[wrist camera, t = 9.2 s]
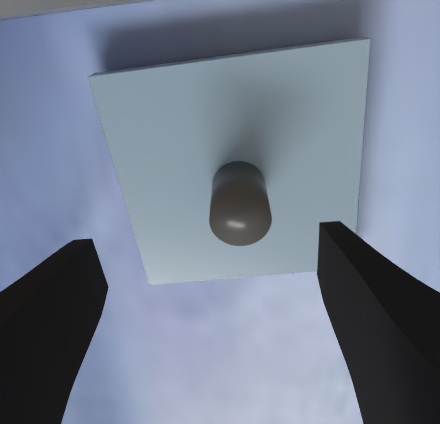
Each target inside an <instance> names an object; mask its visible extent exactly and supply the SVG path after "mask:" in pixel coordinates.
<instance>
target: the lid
mask: <svg viewBox="0 0 440 424" xmlns="http://www.w3.org/2000/svg"><path fill="white" fill-rule="evenodd" d="M369 51H370V39H369V38H366V37H358V38H350V39H343V40H336V41H328V42H321V43H313V44H306V45H299V46H291V47H284V48H276V49H269V50H262V51H254V52H247V53H240V54H232V55H225V56H217V57H210V58H203V59H195V60H188V61H180V62H173V63H166V64H158V65H151V66H143V67H136V68H129V69H121V70H114V71H107V72H99V73H94V74H92V75H90V76H88V77H87V78H88V81H89V84H90V88H91V91H92V94H93V98H94V101H95V104H96V108H97V111H98V114H99V118H100V121H101V124H102V128H103V131H104V135H105V138H106V141H107V145H108V148H109V151H110V155H111V158H112V161H113V165H114V168H115V171H116V175H117V178H118V181H119V185H120V188H121V192H122V195H123V198H124V202H125V205H126V208H127V212H128V215H129V218H130V222H131V225H132V228H133V232H134V235H135V238H136V242H137V245H138V249H139V252H140V255H141V259H142V262H143V265H144V269H145V272H146V275H147V279H148V282H149V285H157V284H169V283H181V282H193V281H205V280H217V279H229V278H241V277H252V276H264V275H276V274H288V273H300V272H312V271H317V266H318V244H319V222H331V221H341V222H342V223H343V224H344V225H346V226H347V227H348V228H349V229H350V230H352V231H353V232H354V233H355V234H356V224H357V210H358V197H359V184H360V171H361V157H362V144H363V131H364V118H365V104H366V91H367V78H368V65H369Z"/></svg>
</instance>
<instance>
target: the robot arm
mask: <svg viewBox="0 0 440 424" xmlns="http://www.w3.org/2000/svg"><path fill="white" fill-rule="evenodd" d="M317 276H318V280H319V285H320V289H321V294H322V298H323V302H324V305H325V308H326V310H327V313H328V316H329V318H330V321H331V324H332V327H333V329H334V332H335V335H336V337H337V340H338V343H339V345H340V348H341V351H342V353H343V356H344V359H345V361H346V364H347V367H348V369H349V373H350V376H351V379H352V382H353V385H354V389H355V393H356V397H357V400H358V404H359V408H360V412H361V415H362V419H363V423H364V424H440V293H439V292H438V291H436V290H434V289H432V288H431V287H429V286H427V285H426V284H424V283H422V282H421V281H419V280H417V279H416V278H414V277H413V276H411V275H410V274H408V273H407V272H405V271H404V270H403V269H401V268H400V267H398V266H397V265H395V264H394V263H392V262H391V261H390V260H388V259H387V258H386V257H384V256H383V255H382V254H380V253H379V252H378V251H376V250H375V249H374V248H372V247H371V246H370V245H369V244H367V243H366V242H365V241H364V240H363V239H361V238H360V237H359V236H358V235H356V234H355V233H354V232H353V231H352V230H350V229H349V228H348V227H347V226H346V225H344V224H343V223H342V222H341V221H331V222H319V244H318V266H317ZM107 291H108V284H107V281H106V278H105V276H104V273H103V270H102V267H101V264H100V261H99V258H98V255H97V252H96V249H95V246H94V243H93V240H92V239H80V240H73V241H71V242H70V243H68V244H66V245H65V246H64V247H62V248H61V249H59V250H58V251H57V252H55V253H54V254H52V255H51V256H50V257H48V258H47V259H46V260H44V261H43V262H42V263H40V264H39V265H38V266H36V267H35V268H34V269H32V270H31V271H29V272H28V273H27V274H25V275H24V276H23V277H21V278H20V279H19V280H17V281H16V282H14V283H13V284H11V285H10V286H8V287H7V288H6V289H4V290H3V291H1V292H0V424H61V422H62V419H63V415H64V412H65V409H66V405H67V402H68V398H69V395H70V392H71V389H72V387H73V384H74V381H75V378H76V376H77V374H78V371H79V369H80V366H81V364H82V362H83V359H84V357H85V354H86V352H87V350H88V347H89V345H90V342H91V340H92V337H93V335H94V332H95V330H96V328H97V325H98V323H99V320H100V317H101V315H102V311H103V307H104V304H105V300H106V295H107Z"/></svg>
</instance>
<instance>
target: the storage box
mask: <svg viewBox="0 0 440 424" xmlns="http://www.w3.org/2000/svg"><path fill="white" fill-rule="evenodd" d="M145 1H152V0H0V20H3V19H11V18H19V17H27V16H35V15H43V14H50V13H58V12H66V11H74V10H82V9H90V8H97V7H105V6H113V5H121V4H129V3H137V2H145Z"/></svg>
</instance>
